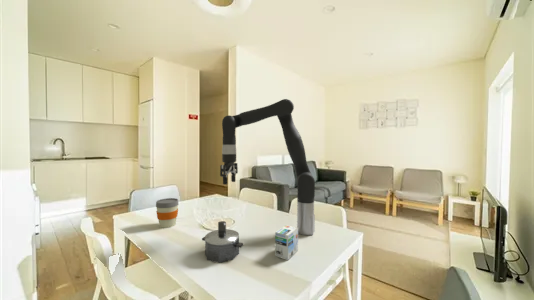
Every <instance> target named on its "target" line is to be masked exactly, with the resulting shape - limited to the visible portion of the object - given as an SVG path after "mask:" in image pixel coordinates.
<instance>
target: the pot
mask: <svg viewBox="0 0 534 300" xmlns="http://www.w3.org/2000/svg"><path fill="white" fill-rule="evenodd" d="M201 241H202V242H203V241H204V243H205V244H204V245H205V246H204V247H205V248H204V249H205V250H204V251H205V252H204V253H205V254H204V255H205V257H206V260H207V261H210V262H215V263H217V264H218V263H219V264H220V263H224V262H229V261H233V260H234V259H235V258H237V256H238V255H239V254H240V248H242V247H243V246H244V243H243V242H241V241H240V238H239V239H238V240H237V241H236V242H235V243H233V244H230V245H225V246H212V245H209V244H207V243H206V242H205V236H202V238H201Z"/></svg>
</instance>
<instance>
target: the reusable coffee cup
mask: <svg viewBox="0 0 534 300" xmlns="http://www.w3.org/2000/svg"><path fill="white" fill-rule="evenodd" d="M155 208H156V211H155V212H156V218H157V220H158V224H159V225H158V226H159V228H161V229H169V228H172V227H174V226H176V225H177V217H178V213H179V212H178V211H179V199H178V198H171V197H168V198H162V199H158V200H156V201H155Z"/></svg>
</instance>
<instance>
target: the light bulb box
mask: <svg viewBox="0 0 534 300" xmlns="http://www.w3.org/2000/svg"><path fill="white" fill-rule="evenodd" d="M274 234H275V235H274V239H275V241H274V242H275V243H274V247H275V248H274V250H275V252H274V254H275V255H274V256H275V257H277V258H281V259H283V260H287V261H289V260H291V258H292V257H293V256H294V255H296V253H297V252H298V251H299V233H298V228H297V227H295V226H291V225H284V226H283V227H281V228H279V229H278V230H276V231H275V233H274Z"/></svg>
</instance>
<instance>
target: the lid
mask: <svg viewBox="0 0 534 300" xmlns="http://www.w3.org/2000/svg"><path fill="white" fill-rule="evenodd" d="M239 234H240V233H239V232H238V231H237V230H235V229H234V230H233V229H230V228H228V229H227V222H226V221H224V220H221V221H218V223H217V229H215V230H212V231H210V232H208V233H207V234H205V236H204V237H205V241H204V243H205V242H206V243H207V244H209V245H212V246H225V245H230V244H233V243H235V242H236V241H237V240H238V239H239V240H240V235H239Z"/></svg>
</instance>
